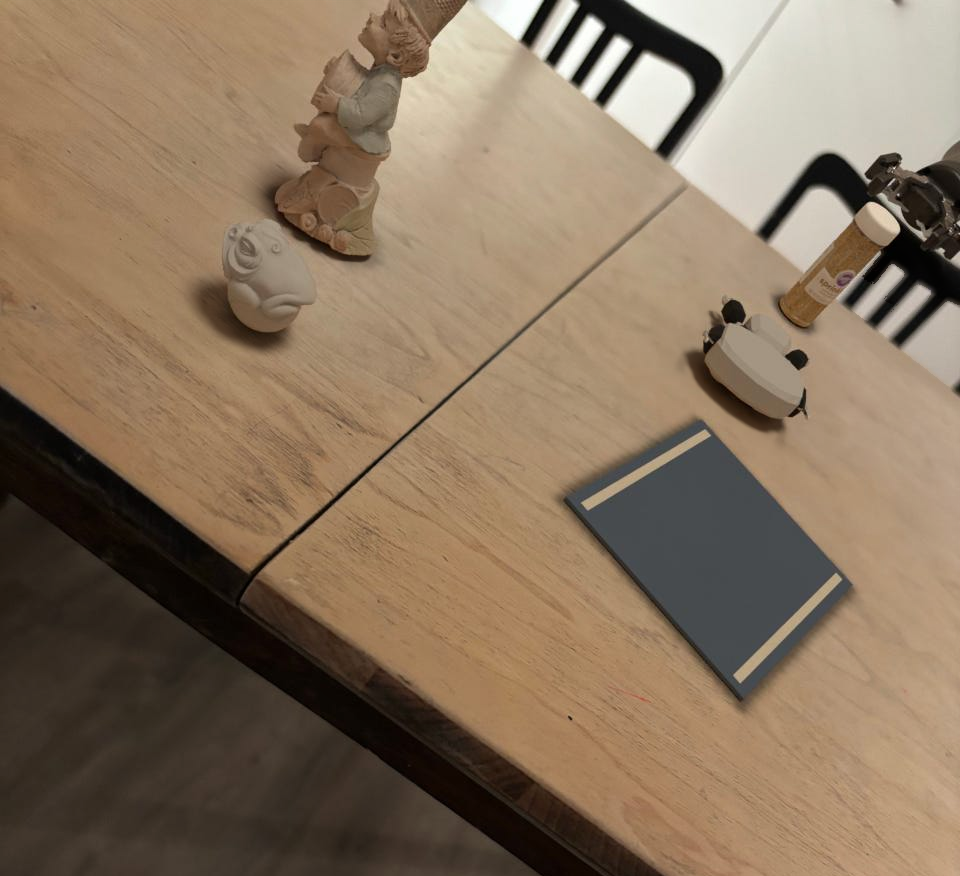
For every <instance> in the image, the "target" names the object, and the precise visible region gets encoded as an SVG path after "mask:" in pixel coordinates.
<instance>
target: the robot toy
mask: <svg viewBox="0 0 960 876" xmlns="http://www.w3.org/2000/svg"><path fill="white" fill-rule="evenodd" d="M721 305H723V306H722V309H721V310H720V312H721V316H722V318H723V322H724V323H725V325H723V324H717V325H715V326H713V327H711V328H710V329H709V330H708V329H707V328H706V329H705V330H704V331H703V332H702V334H701V335H702V336H703V340H702V343H703V344H702V353H703V354H704V355H705V357H704V360H703V362H704V364H706V366H707V368H708V369H709V373H710V375H711V377H712V378H713V379H714V380H715V381H716V382H717V383H720V384H721V385H723V386H724V387H725V388H727V390H729V391H730V392H731V393H732V394H734V395H735V396H736V397H737V398H738V399H739V400H740V401H742V402H743V403H745V404H746V405H748V406H749V407H751V408H752V409H753V411H756V412H758V413H760V414H763V415H765V416H767V417H769V418H772V419H777V420H782V419H784V418H794V417H796V416H797V415H799V414H800V413H801V412H802V413H803V416H804V419H805V420H806V421H808V420H809V419H810V418H811V415H810V414H809V413H808V410H807V409H808V406H807V405H806V404H807V389H806V387H805V385H806V384H805V383H806V380H805V379H804V377H803V376H802V375H801V373H800V370H802V369H804V368H805V367H807V366H809V365H810V363H811V359H810V358H809V357H808V355H807V354H806V353H805V351H803V350H801V349H800V348H798V349H794V350H791V348H792V337H791V335H790V334H789V333H788V331H787V330H786V329H785V328H784V327H783V326H782V325H781V324H779V323H778V322H777V321H776V320H774V319H773V318H771V317H770V316H769V315H766V314H763V313H756V314H755V313H754V314H753V315H751V316H750V317H749V318H748V319H747V321H746V322H745V319H746V318H747V314H746V311H745V308H744V306H743V304H742V303H741V302H740V301H739V300H738V299H735V298H733V297H730V296H729V295H726V294H725V295H723V296H722V298H721ZM744 322H745V323H744ZM790 350H791V351H790Z"/></svg>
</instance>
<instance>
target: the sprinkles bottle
mask: <svg viewBox="0 0 960 876" xmlns="http://www.w3.org/2000/svg"><path fill="white" fill-rule="evenodd" d="M900 232H901V227H900V223H899V222H898V221H897V219H896V218H895V217H894V215H893V214H892V213H890V211H888V210H887V209H886V208H885V207H884V206H882V205H880V204H879V203H877V202H875V201H869V202H867V203H865V204H864V206H862V208H861V209H859V210H858V212H857V213H856V214H855V215H854V217H853V218H852V220H851V222H850V223H849V224H848V225H847V226H846V228H845V229H843V231H842V232H841V233H840V234H839V235H838V236H837V238H836V239H834V240H833V241H832V242H831V243H830V244H829V245H828V247H826V249H824V251H823V252H822V253H821V254H820V255H819V256H818V257H817V259H815V261H813V263H812V264H811V265H810V267H808V268H807V269H806V270H805V272H804V273H803V274H802V275H801V276H800V277H799V279H798V281H796V283H795V284H794V285H793V287H791V288H790V289H789V290H788V292H787V293H786V294H785V295H783V296H782V297H781V298H780V299H779V306H780V309H781V310H782V312H783V314H784V315H785V316H786V318H788V319H789V320H790V321H791V322H793V323H794V324H796V325H798V326H800V327H803V328H808V327H810V326H811V325H812V324H813V323H814V321H815V320H816V319H817V318H818V317H819V315H821V313H822V312H824V310H825V309H827V307H829V305H831V304H832V303H833V302H834V301H835V300H836V299H837V298H838V297H839V296H840V295H841V294H842V293H843V291H844V290H845V289H846V288H847V287H848V286H849V285H850V284H851V282H852V281H853V280H854V279H856V277H857V276H858V275H859V274H860V273H861V272H862V271H863V269H865V268H866V267H867V265H868V264H869V263H870V262H871V261H872V260H873V259H874V258H875V257H876V256H877V255H878V254H879V253H880V252H881V250H883V249H884V248H885V247H887V246H889V245H890V244H891V242H893V240H895V238H896V237H897V236H898V235H899V234H900Z"/></svg>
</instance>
